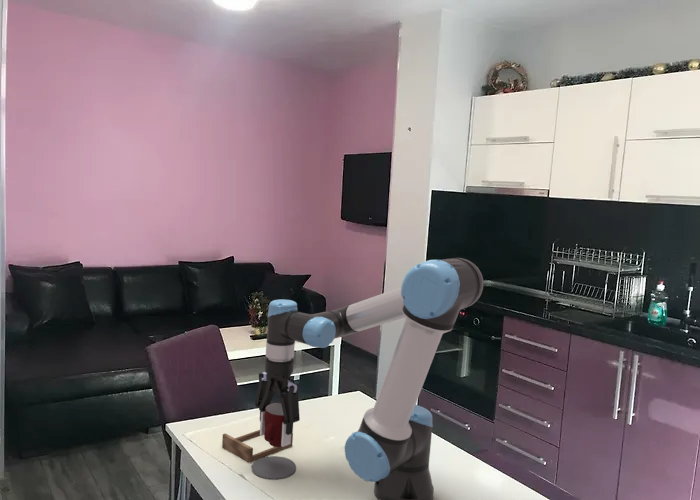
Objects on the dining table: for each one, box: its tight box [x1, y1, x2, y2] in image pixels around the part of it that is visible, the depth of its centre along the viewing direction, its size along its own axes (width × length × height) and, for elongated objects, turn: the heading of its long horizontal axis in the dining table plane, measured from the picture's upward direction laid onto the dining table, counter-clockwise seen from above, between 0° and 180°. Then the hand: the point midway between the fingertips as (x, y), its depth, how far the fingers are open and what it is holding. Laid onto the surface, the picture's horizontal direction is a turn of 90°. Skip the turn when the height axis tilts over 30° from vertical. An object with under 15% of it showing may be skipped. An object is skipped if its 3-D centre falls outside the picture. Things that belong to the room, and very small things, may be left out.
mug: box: [263, 402, 290, 447], centre depth 155 cm, size 10×8×10 cm
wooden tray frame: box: [221, 429, 294, 464], centre depth 168 cm, size 13×16×4 cm
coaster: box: [251, 455, 297, 481], centre depth 156 cm, size 12×12×1 cm
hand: (275, 439), depth 155 cm, fingers closed on mug, 8 cm apart
